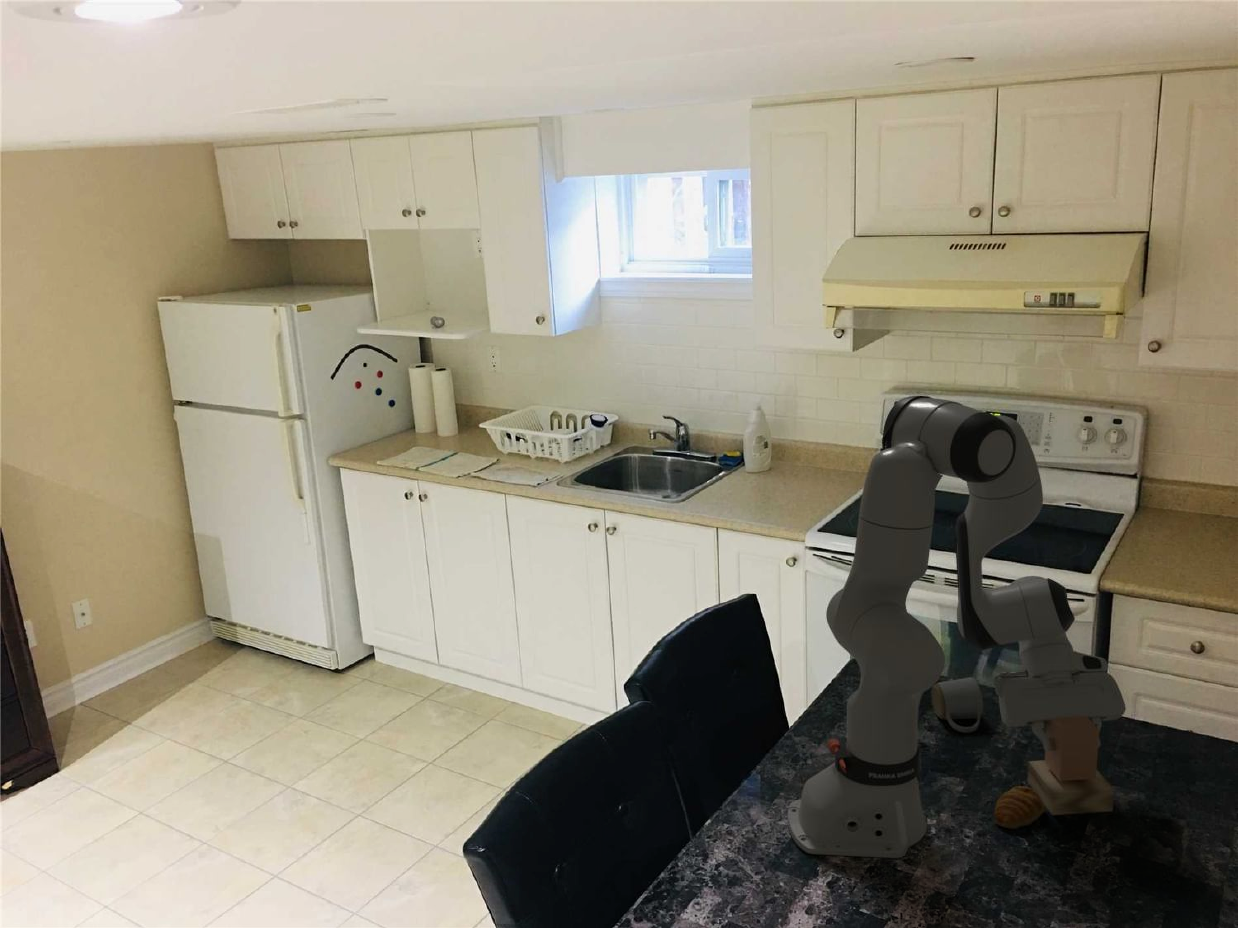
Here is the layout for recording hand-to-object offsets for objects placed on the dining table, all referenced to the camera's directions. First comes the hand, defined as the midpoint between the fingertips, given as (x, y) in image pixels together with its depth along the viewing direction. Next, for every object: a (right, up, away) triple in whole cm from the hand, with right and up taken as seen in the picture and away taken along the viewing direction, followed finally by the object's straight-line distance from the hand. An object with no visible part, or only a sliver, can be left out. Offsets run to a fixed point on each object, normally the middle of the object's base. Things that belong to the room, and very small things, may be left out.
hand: (1073, 748), depth 173 cm
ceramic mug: (-9, -3, +30) cm, 31 cm away
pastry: (-9, -11, -1) cm, 15 cm away
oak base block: (+1, -9, +3) cm, 9 cm away
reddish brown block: (0, -4, +2) cm, 4 cm away
